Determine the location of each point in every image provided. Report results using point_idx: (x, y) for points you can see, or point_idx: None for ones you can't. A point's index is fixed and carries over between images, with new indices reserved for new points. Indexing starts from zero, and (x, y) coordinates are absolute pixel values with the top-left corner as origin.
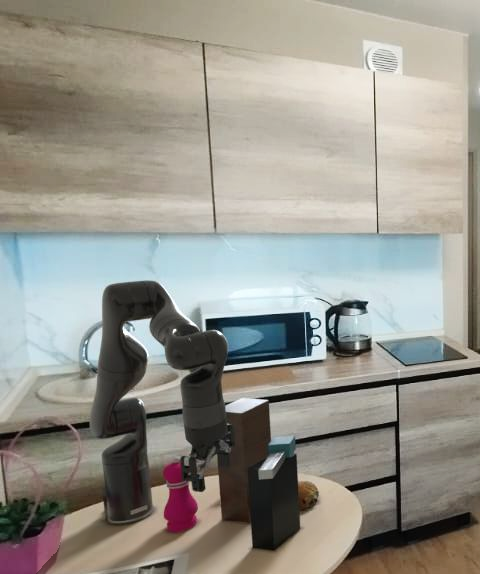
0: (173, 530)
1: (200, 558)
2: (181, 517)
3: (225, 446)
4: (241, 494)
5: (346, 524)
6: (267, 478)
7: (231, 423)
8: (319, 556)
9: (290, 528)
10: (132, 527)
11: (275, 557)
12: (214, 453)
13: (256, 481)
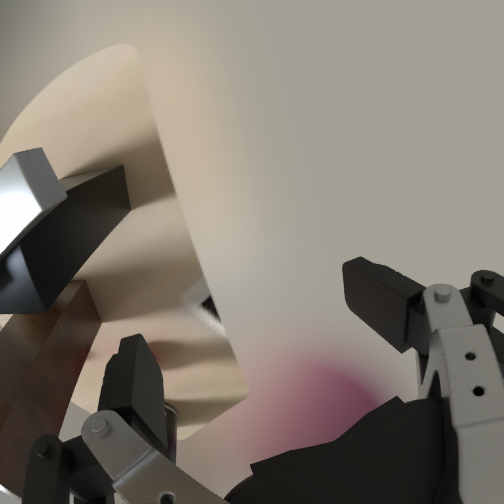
0: (154, 357)
1: (184, 270)
2: None
3: (165, 498)
4: (67, 322)
5: (28, 112)
6: (50, 165)
7: (16, 465)
8: (116, 70)
9: (73, 177)
10: (171, 397)
11: (138, 144)
12: (349, 460)
13: (55, 257)
